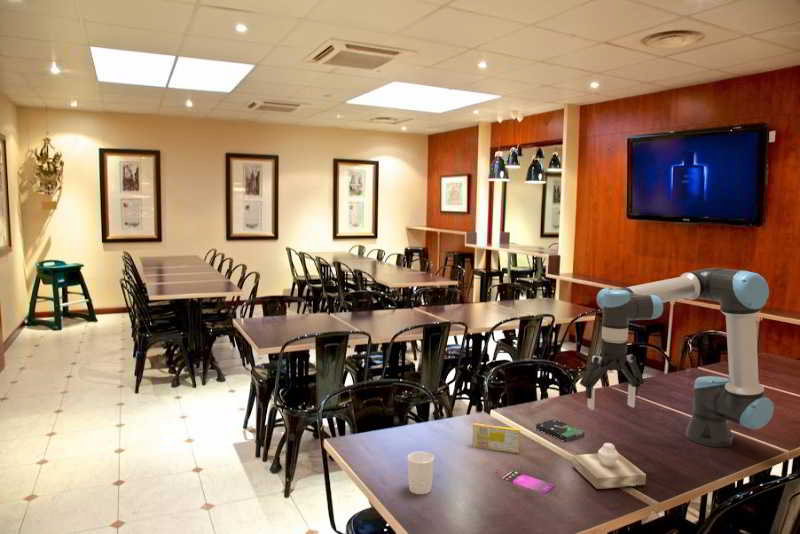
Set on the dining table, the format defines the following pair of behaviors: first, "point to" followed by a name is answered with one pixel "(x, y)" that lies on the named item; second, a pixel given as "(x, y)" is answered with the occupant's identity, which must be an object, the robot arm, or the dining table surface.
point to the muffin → (608, 454)
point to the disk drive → (560, 430)
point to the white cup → (420, 472)
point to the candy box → (496, 438)
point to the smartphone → (528, 482)
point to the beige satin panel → (608, 472)
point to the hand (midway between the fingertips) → (610, 407)
